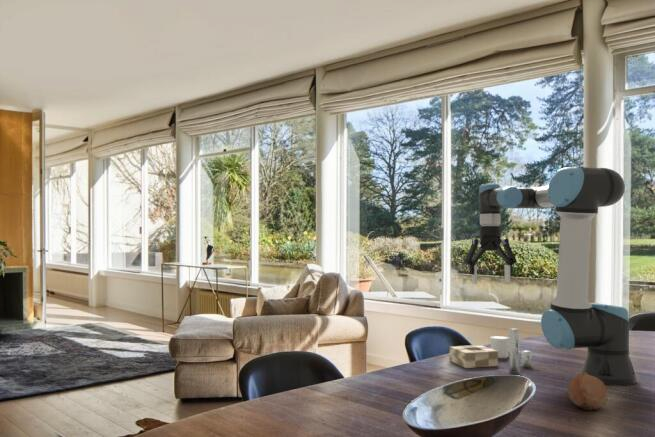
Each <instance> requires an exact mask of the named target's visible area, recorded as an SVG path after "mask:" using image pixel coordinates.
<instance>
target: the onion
mask: <svg viewBox="0 0 655 437" xmlns="http://www.w3.org/2000/svg"><path fill="white" fill-rule="evenodd" d="M567 388H568V389H567V392H568V396H569V398H570V400H571V402H573V403H574V405H576V406H577V407H579V408H581V409H583V410H584V411H590V412H592V411H596V410H598V409H600V408H601V407H602V406H603V405H606V404H607V402H608V395H609V392H608V389H607V385H605V384H604V383H603V382H602V381H601V380H600V379H598V378H597V377H594V376H591V375H589V374H588V373H586V372H582V371H581V373H577V376H575V377H573V378H572V379H571V380H570V381H569V384H568V387H567Z"/></svg>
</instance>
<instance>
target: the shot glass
mask: <svg viewBox="0 0 655 437" xmlns="http://www.w3.org/2000/svg"><path fill="white" fill-rule="evenodd" d="M489 338H490V339H489V340H490V348H491V349H493V350H496V351H498V359H507V358H509V336H504V335H503V336H502V335H492V336H490V337H489Z"/></svg>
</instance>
